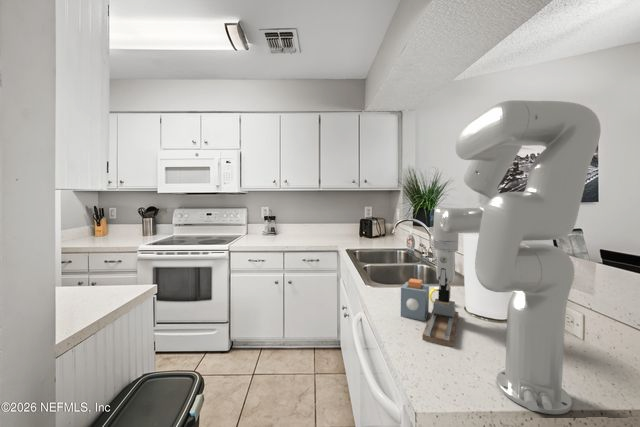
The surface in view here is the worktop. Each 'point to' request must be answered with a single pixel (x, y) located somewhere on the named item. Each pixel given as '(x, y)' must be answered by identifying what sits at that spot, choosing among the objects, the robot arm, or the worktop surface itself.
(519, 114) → the robot arm
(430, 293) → the watch
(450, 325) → the rail board
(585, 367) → the worktop surface
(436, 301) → the carriage
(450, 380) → the worktop surface
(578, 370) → the worktop surface
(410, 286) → the button
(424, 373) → the worktop surface
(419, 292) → the end cabinet
